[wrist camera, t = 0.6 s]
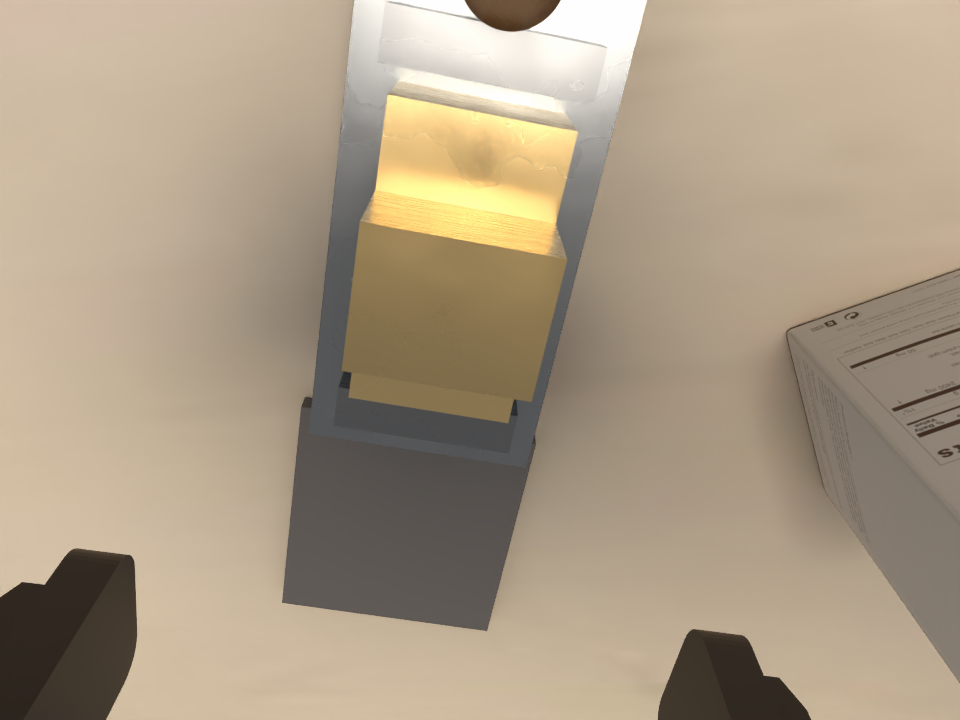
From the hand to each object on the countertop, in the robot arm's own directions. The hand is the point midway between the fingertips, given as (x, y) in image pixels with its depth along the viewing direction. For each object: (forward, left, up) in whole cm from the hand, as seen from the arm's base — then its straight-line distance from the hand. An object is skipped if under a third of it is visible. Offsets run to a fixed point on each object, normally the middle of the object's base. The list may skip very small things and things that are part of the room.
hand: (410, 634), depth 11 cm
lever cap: (0, -1, -15) cm, 15 cm away
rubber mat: (0, +14, -20) cm, 25 cm away
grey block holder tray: (0, -2, -20) cm, 20 cm away
